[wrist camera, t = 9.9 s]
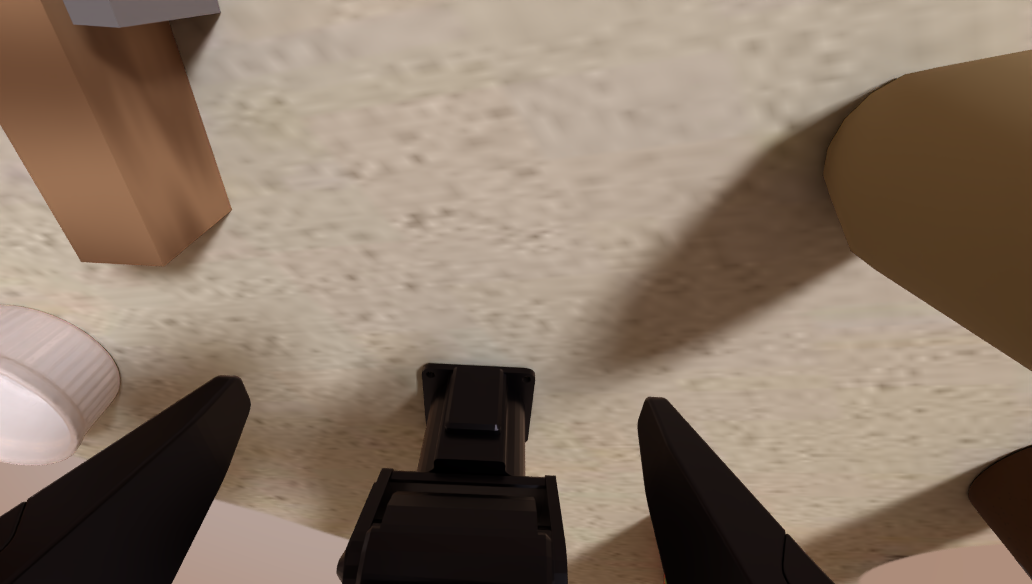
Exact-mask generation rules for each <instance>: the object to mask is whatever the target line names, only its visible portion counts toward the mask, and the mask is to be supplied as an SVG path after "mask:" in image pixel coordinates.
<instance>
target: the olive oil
mask: <svg viewBox="0 0 1032 584" xmlns="http://www.w3.org/2000/svg"><path fill="white" fill-rule="evenodd" d="M969 500H970V502H971V503H972V505H973V506H974V508H975V509H976V510H977V511H978V513H979V514H980V515H981V516H982V518H983V519H984V520H985V521H986V523H987V524H988V525H989V526H990V528H991V529H992V530H993V531H994V533H995V534H996V535H997V536H998V538H999V539H1000V540H1001V541H1002V543H1003V544H1004V545H1005V546H1006V548H1007V549H1008V550H1009V551H1010V553H1011V554H1012V555H1013V556H1014V558H1015V559H1016V561H1017V562H1018V563H1019V564H1020V566H1021V567H1022V568H1023V569H1024V571H1025V572H1026V573H1027V575H1028V576H1029V577H1030V578H1031V580H1032V447H1030V448H1027V449H1024V450H1022V451H1019V452H1017V453H1015V454H1012V455H1010V456H1008V457H1006V458H1004V459H1002V460H1000V461H999V462H997V463H995V464H994V465H992V466H991V467H989V468H988V469H986V470H985V471H984V472H983V473H981V474H980V475H979V476H978V477H977V478H976V479H975V481H974V482H973V483H972V485H971V487H970V490H969Z"/></svg>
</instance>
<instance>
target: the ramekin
mask: <svg viewBox="0 0 1032 584" xmlns="http://www.w3.org/2000/svg"><path fill="white" fill-rule="evenodd" d="M119 387H120V375H119V371H118V369H117V366H116V364H115V362H114V360H113V359H112V357H111V356H110V355H109V353H108V352H107V351H106V350H105V349H104V348H103V347H102V346H101V345H100V344H99V343H98V342H97V341H96V340H94V339H93V338H92V337H91V336H89V335H88V334H87V333H85V332H84V331H82V330H81V329H79V328H78V327H76V326H74V325H72V324H71V323H69V322H67V321H65V320H63V319H60V318H58V317H56V316H53V315H51V314H48V313H45V312H42V311H39V310H35V309H31V308H26V307H20V306H13V305H0V462H5V463H11V464H16V465H17V464H19V465H48V464H53V463H57V462H60V461H63V460H65V459H67V458H69V457H70V456H72V455H73V454H74V452H75V451H76V450H77V449H78V447H79V446H80V444H81V443H82V440H83V438H84V435H85V434H86V433H87V431H88V430H89V429H90V428H91V426H92V425H93V424H94V423H95V421H96V420H97V419H98V418H99V417H100V415H101V414H102V413H103V412H104V411H105V409H106V408H107V407H108V406H109V405H110V403H111V402H112V401H113V399H114V398H115V396H116V395H117V393H118V390H119Z"/></svg>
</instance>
